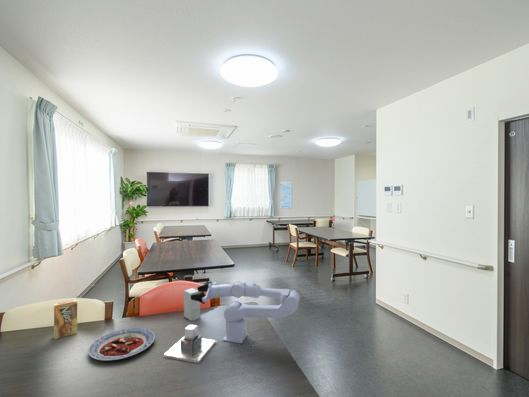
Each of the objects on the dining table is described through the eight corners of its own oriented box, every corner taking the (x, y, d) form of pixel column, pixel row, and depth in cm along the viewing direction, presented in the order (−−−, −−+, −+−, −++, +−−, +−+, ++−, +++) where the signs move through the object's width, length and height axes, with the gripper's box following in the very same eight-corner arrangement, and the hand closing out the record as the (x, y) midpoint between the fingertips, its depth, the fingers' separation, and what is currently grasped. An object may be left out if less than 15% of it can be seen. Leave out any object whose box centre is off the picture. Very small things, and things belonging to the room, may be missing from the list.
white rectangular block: (197, 344, 118) (198, 325, 118) (193, 350, 114) (193, 329, 114) (189, 343, 119) (189, 324, 119) (184, 348, 115) (184, 328, 115)
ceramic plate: (128, 369, 103) (128, 361, 103) (72, 360, 108) (72, 353, 108) (166, 335, 128) (166, 329, 128) (119, 330, 133) (119, 324, 133)
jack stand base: (216, 342, 122) (216, 331, 122) (198, 363, 106) (198, 350, 106) (184, 337, 126) (184, 326, 126) (163, 356, 110) (163, 344, 110)
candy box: (76, 330, 132) (76, 299, 132) (77, 333, 129) (77, 301, 129) (53, 336, 127) (53, 303, 127) (54, 339, 123) (54, 306, 123)
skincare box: (200, 318, 146) (200, 290, 146) (190, 321, 142) (190, 293, 142) (192, 313, 152) (193, 287, 152) (183, 316, 148) (183, 289, 148)
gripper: (223, 276, 134) (198, 278, 137) (213, 291, 120) (185, 293, 123) (226, 288, 135) (202, 291, 138) (216, 305, 121) (189, 307, 124)
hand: (194, 293), depth 130 cm, fingers open, 7 cm apart
